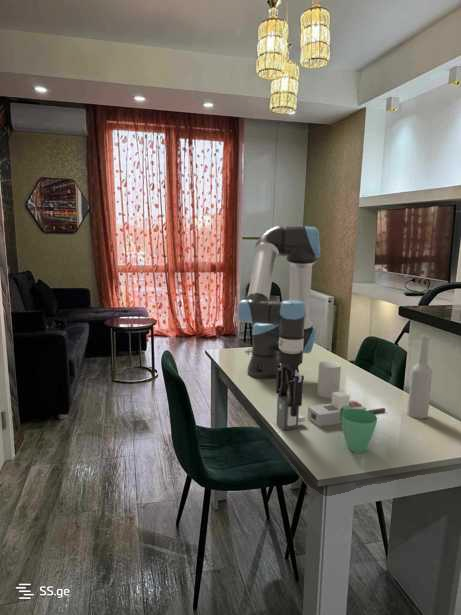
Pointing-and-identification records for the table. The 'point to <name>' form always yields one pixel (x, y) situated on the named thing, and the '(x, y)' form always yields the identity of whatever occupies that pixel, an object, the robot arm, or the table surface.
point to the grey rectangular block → (286, 414)
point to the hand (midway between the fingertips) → (287, 420)
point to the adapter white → (340, 399)
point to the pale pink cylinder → (328, 378)
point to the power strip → (332, 413)
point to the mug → (357, 428)
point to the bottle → (420, 384)
